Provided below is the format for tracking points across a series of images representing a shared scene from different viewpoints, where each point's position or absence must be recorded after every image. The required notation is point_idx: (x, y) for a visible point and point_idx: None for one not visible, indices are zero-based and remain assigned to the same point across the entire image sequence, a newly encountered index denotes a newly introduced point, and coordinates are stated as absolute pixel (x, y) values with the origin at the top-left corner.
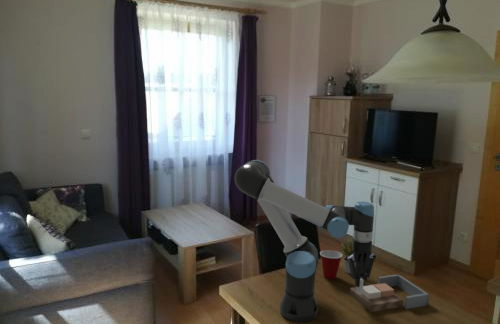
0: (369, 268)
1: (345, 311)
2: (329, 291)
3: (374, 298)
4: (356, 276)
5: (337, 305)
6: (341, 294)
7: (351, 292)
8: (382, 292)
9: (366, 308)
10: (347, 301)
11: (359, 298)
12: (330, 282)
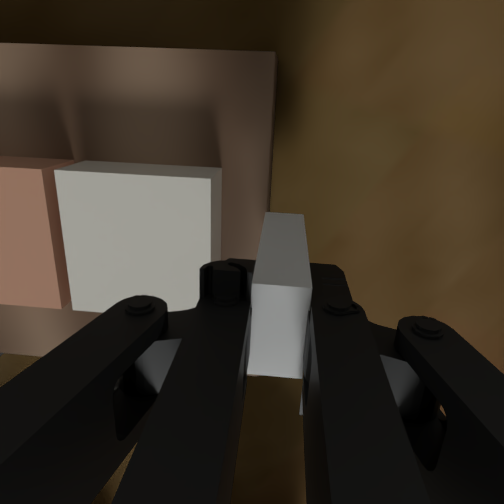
0: (46, 417)
1: (477, 146)
2: None
3: (156, 160)
4: (417, 345)
5: (470, 247)
6: None
7: None
8: (42, 166)
9: (274, 121)
10: (349, 269)
11: None
12: (293, 498)
